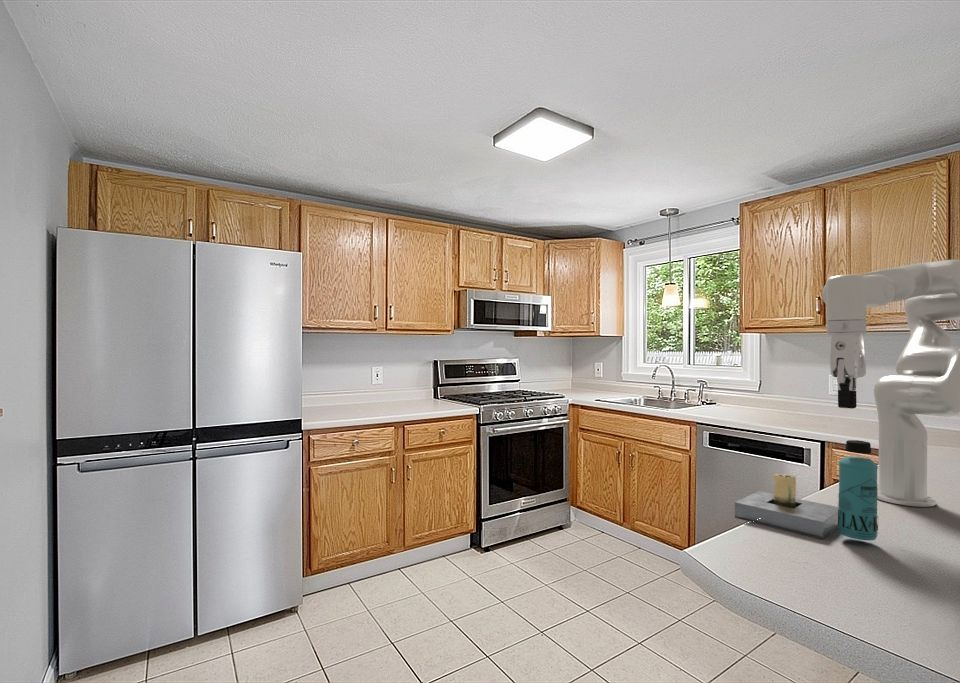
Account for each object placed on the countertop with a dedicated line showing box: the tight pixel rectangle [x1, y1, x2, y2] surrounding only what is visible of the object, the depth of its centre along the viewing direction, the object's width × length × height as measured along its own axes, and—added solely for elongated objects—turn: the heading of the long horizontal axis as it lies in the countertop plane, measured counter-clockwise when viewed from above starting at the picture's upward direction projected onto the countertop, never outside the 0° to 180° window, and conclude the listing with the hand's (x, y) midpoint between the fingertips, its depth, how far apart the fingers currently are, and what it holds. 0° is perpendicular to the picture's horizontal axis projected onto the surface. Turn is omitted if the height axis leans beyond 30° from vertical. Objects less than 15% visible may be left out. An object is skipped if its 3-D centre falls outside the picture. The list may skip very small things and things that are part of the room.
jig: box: [734, 490, 839, 540], centre depth 113 cm, size 14×17×4 cm
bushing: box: [773, 473, 797, 508], centre depth 115 cm, size 4×4×9 cm
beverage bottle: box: [837, 439, 879, 541], centre depth 101 cm, size 6×7×20 cm
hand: (847, 407), depth 119 cm, fingers closed
